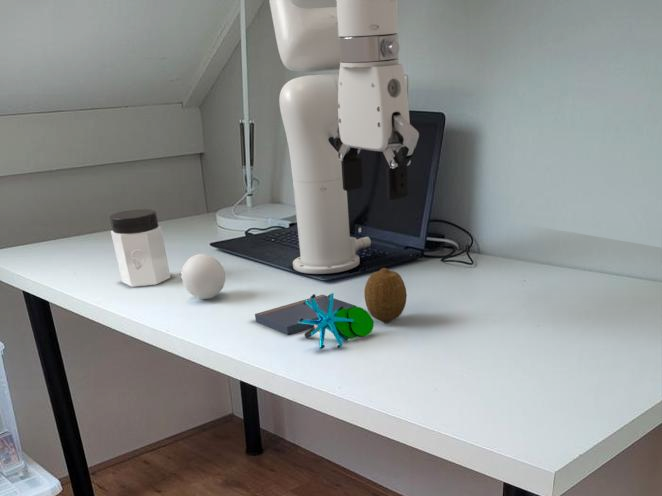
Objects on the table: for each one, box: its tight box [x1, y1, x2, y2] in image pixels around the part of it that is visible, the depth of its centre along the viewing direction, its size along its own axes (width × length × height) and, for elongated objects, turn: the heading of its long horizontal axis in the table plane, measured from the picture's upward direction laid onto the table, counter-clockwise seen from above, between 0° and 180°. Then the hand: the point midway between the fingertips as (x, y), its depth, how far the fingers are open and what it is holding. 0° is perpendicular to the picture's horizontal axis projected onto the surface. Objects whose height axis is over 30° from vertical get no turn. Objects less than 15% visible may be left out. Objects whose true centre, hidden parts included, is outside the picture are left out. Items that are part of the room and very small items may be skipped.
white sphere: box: [171, 253, 226, 300], centre depth 127 cm, size 10×7×7 cm
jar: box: [109, 208, 171, 288], centre depth 137 cm, size 9×8×12 cm
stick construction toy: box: [298, 292, 375, 351], centre depth 106 cm, size 12×7×8 cm
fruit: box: [364, 267, 407, 324], centre depth 110 cm, size 6×6×8 cm
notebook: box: [254, 294, 358, 335], centre depth 116 cm, size 13×9×1 cm
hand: (374, 193), depth 104 cm, fingers open, 9 cm apart
